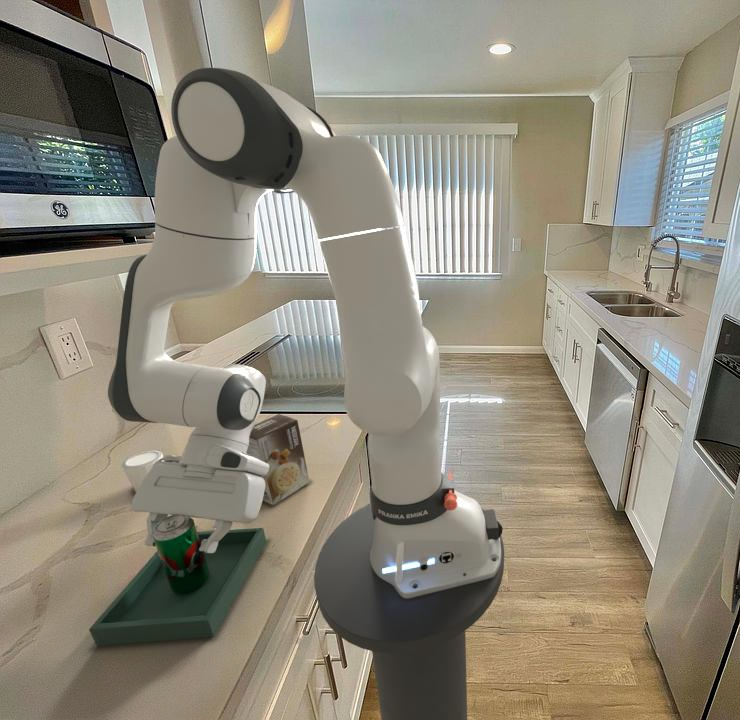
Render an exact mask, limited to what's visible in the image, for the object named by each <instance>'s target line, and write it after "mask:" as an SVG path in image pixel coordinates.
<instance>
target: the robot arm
mask: <svg viewBox="0 0 740 720" xmlns="http://www.w3.org/2000/svg"><path fill="white" fill-rule="evenodd" d="M171 98H172V99H171V105H170V108H171V109H170V114H171V122H172V126H173V129H174V132H175V136H171V137H170V138H168V139H167V140H166V141H165V142H164V143H163V144H162V146H161V149H160V151H159V156H158V161H157V167H156V174H155V175H156V176H155V186H154V228H155V229H154V230H155V231H154V238H153V242H152V245H151V247H150V249H149V250H148V253H147V254H143V255H141V256H139V257H137V258H136V259H135V260H134V261H133V262H132V263H131V265H130V267H129V270H128V273H127V275H126V281H125V286H124V292H123V298H122V307H121V316H120V323H119V325H120V326H119V333H118V343H117V351H116V352H117V353H116V359H115V365H114V368H113V371H112V373H111V376H110V379H109V383H108V387H107V398H108V401H109V403H110V405H111V407H112V409H113V410H114V411H115V412H116V414H117V415H119V417H120V418H122V420H125V421H126V422H131V423H133V422H134V423H149V424H150V423H151V424H158V423H159V424H167V425H173V426H179V427H188V428H194V429H193V430H192V432H191V433H190V435H189V437H188V439H187V442H186V444H185V447H184V450H183V451H182V454H181V455H173V454H167V455H164V456H163V458H161V459H159V460H158V461H156V462H155V463H154V465H153V467H152V469H151V470H150V471H149V472H148V474H147V475H146V477H145V478H144V480H143V482H142V483H141V485H140V487H139V488H138V490H137V492H136V491H135V494H134V495H133V498H132V501H131V510H132V511H133V512H141V513H149V514H148V516H147V518H146V525H147V526H146V527H147V536H146V539H145V541H144V546H146V547H156V545H155V542H154V540H153V534H154V528H155V526H156V525H157V524H158V523H159V522H160V521H161V520H163V519H165V518H166V517H169V516H171V515H174V514H179V515H182V516H186V515H189V517H190V518H197V519H203V520H205V519H206V520H215V521H214V524H213V529H214V530H213V531H214V532H213V533H212V534H211V536H210V537H209V538H208V539H207V540H206V539H203V540H202V542H201V547H200V548H199V552H203V553H214V552H215V551H216V548H217V545H218V542H219V540H221V539H222V538H223V537H224V536H225V534H226V533H227V532H228V531H229V530H231V529H232V526H233V523H241V524H251V523H252V522H253V521H254V520H255V519H257V518H258V515H259V513H260V511H261V507H262V503H263V501H264V500H263V496H264V491H265V481H264V479H263V478H262V477H261V476H265V475H267V473H268V471H269V465H268V464H267V463H265V462H263V461H261V460H259V459H257V458H255V457H253V456H252V455H250V454H247V453H246V452H247V449H248V446H249V436H250V433H251V430H252V429H253V427H254V426H255V424H258V421H259V417H260V414H261V411H262V408H263V407H262V406H263V404H264V398H265V394H266V388H267V387H266V386H267V379H266V377H265V375H264V374H262V373H261V372H260V371H259V370H257V369H255V368H253V367H251V366H248V365H245V364H239V363H231V364H227V365H225V366H224V367H216V366H209V365H200V364H195V363H190V362H184V361H183V362H182V361H178V360H175V359H173V358H172V357H169V356H168V355H167V354H166V352H165V346H166V339H167V334H168V333H167V332H168V327H169V326H168V325H169V320H170V313H171V309H172V308H173V306H174V305H175V304H176V303H177V302H181V301H185V300H193V299H200V298H206V297H212V296H217V295H220V294H223V293H226V292H228V291H231V290H233V289H235V288H237V287H238V286H241V284H243V283H244V282H245V281H246V280H247V279H248V278H249V276H251V274H252V272H253V269H254V265H255V259H256V251H257V249H256V248H257V211H258V210H257V209H258V205H259V202H260V200H261V199H262V197H263V196H264V195H266V194H267V193H269V192H274V193H275V194H279V195H281V194H291V193H295V194H296V195H297V196H299V197H300V198H301V200H302V201H303V203H304V204H305V205H306V207H307V209H308V211H309V215H310V217H311V220H312V223H313V227H314V230H315V234H316V238H317V241H318V244H319V247H320V251H321V255H322V258H323V261H324V265H325V269H326V273H327V275H328V278H329V281H330V285H331V288H332V292H333V296H334V300H335V305H336V310H337V316H338V324H339V325H338V326H339V333H340V335H339V336H340V344H341V345H340V346H341V354H342V360H343V361H342V362H343V369H344V393H343V405H344V409H345V413H346V415H347V417H348V418H349V419H350V421H351V422H352V423H353V424H354V425H355V426H356V427H357V428H358V429H360V430H361V431H362V432H365V433H366V434H368V436H367V454H368V463H369V472H370V481H371V483H370V488H369V503H370V505H371V511H372V515H373V519H374V522H375V523H374V539H373V545H372V549H371V553H370V562H371V566H372V568H373V570H374V571H375V573H376V574H377V575H378V576H379V577H380V578H381V579H383V580H385V581H387V582H388V583H390V584H392V585H393V586H394V587H395V589H396V590H397V592H398V593H399V595H400V596H401V597H403V598H407V599H408V598H413V597H417V596H421V595H425V594H429V593H433V592H437V591H441V590H445V589H449V588H453V587H457V586H461V585H465V584H469V583H473V582H477V581H482V580H486V579H489V578H492V577H494V576H495V575H496V573H497V571H498V569H499V567H500V563H501V544H500V536H502V534H503V532H504V531H503V530H504V529H503V525H502V524H501V523H500V521H498V520H497V515H496V512H495V511H496V510H495V509H493V508H492V509H483V508H482V507H481V505H480V503H479V502H478V501H477V500H476V499H474V498H472V497H470V496H468V495H465V494H463V493H461V492H459V491H457V490H455V483H454V481H453V475H452V473H451V471H450V470H449V471H448V476H446V475H445V474H444V473H442V464H441V463H442V462H441V442H440V441H441V440H440V439H441V438H440V436H441V435H440V430H441V427H440V426H441V380H440V379H441V371H440V370H441V367H440V365H441V363H440V350H439V347H438V344H437V341H436V339H435V337H434V335H433V334H432V332H431V331H430V330H428V328H426V327H425V326H423V319H422V312H421V311H422V310H421V302H420V294H419V293H420V292H419V290H420V289H419V283H418V278H417V274H416V270H415V265H414V261H413V255H412V252H411V248H410V247H411V246H410V243H409V239H408V234H407V229H406V226H405V221H404V217H403V212H402V209H401V206H400V203H399V198H398V196H397V193H396V189H395V187H394V184H393V181H392V179H391V176H390V174H389V171H388V168H387V166H386V164H385V162H384V160H383V157H382V155H381V153H380V152H379V150H378V149H377V147H375V146H374V145H373V144H372V143H370V142H369V141H367V140H365V139H362V138H360V137H357V136H353V135H344V134H343V135H337V134H336V133H335V131H334V129H333V128H332V126H331V125H330V124H329V122H327V120H326V119H325V118H323V117H322V116H321V114H319V113H318V112H317V111H316V110H314V109H313V108H311V107H309V106H306V105H304V104H302V103H301V102H300V101H298V100H296V99H295V98H293V97H292V96H291V95H290V94H288V93H287V92H285V91H284V90H281V89H279V88H277V87H275V86H272V85H270V84H268V83H265V82H262V81H259V80H256V79H253V78H252V77H251V76H249V75H247V74H245V73H243V72H240V71H237V70H233V69H228V68H223V67H222V68H221V67H203V68H197V69H195V70H192V71H190V72H188V73H187V74H185V75H184V76H183V77H182V78H181V79H180V80H179V82H178V83H177V85H176V87H175V89H174V91H173V94H172V97H171ZM162 460H163V461H162ZM481 508H482V509H483V511H482V509H481ZM414 587H417V588H414Z"/></svg>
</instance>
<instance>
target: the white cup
mask: <svg viewBox="0 0 740 720" xmlns="http://www.w3.org/2000/svg"><path fill="white" fill-rule="evenodd" d="M161 458H164V456H163V452H162V451H160V450H147V451H143V452H139V453H136V454H134V455H132V456H130V457H127V458H126V459H125V460H124V461H122V464H121V467H122V469H123V471H124V473H125V475H126V477H127V478H128V480H129V482H130V485H131V486H132V489H133V490H134V492H135V493H136V492H137V490H138V488H139V487H140V485H141V483H142V482H143V480H144V478H145V477H146V475H147V474H148V472H149V471H150V470H151V469H152V467H153V465H154V463H155V462H156V461H158V460H159V459H161ZM162 461H164V460H162Z"/></svg>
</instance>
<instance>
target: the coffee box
mask: <svg viewBox="0 0 740 720" xmlns="http://www.w3.org/2000/svg"><path fill="white" fill-rule="evenodd" d="M300 431H301V430H300V426H299V421H298V419H296V418H293V417H291V416H287V415H284V414H280V413H278V414H275V415H273V416H271V417H269V418H267V419H264V420H262V421H260V422H257V423H256V424H255V426H254V427H253V429H252V430H251V433H250V436H249V446H248V449H247V452H246V453H247V454H250V455H252V456H253V457H255V458H257V459H259V460H261V461H263V462H265V463H267V464H268V465H269V471H268V473H267V475H265V476H261V477H262V478H263V479H264V481H265V491H264V496H263V500H262V501H264V502H265V503H268V504H269V505H272V506H275V505H276V504H278V503H279V502H282V501H283V500H284V499H286V498H287V497H289V496H290V495H292V494H293V493H295V492H296V491H299V490H300V489H302V488H303V487H304V486H306V485H307V484H309V483H310V477H309V471H308V467H307V462H306V461H307V460H306V456H305V452H304V447H303V441H302V436H301V432H300Z"/></svg>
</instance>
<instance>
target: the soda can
mask: <svg viewBox="0 0 740 720" xmlns="http://www.w3.org/2000/svg"><path fill="white" fill-rule="evenodd" d="M197 532H198V530H197V527H196V524H195V520H194V519H193V517H189V515H186V516H182V515H179V514H174V515H168V516H167V517H166V518H165V519H163V520H161V521H160V522H159V523H158V524H157V525H156V526H155V528H154V534H153V540H154V542H155V545H156V546H155V548H156V552H157V551H158V554H159V556H160V559H161V562H162V565H163V568H164V570H165V573H166V576H167V579H168V582H169V584H170V587H171V590H172V592H174V593H176V594H187V593H190V592H193V591H195V590H196V589H198V588H199V587H201V586H202V585H203V584H204V583H205V581H206V580H207V578H208V576H209V569H208V565H207V562H206V559H205V556H204V553H203V552H199V548H200V547H201V543H200V539H199V536H198V533H197Z"/></svg>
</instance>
